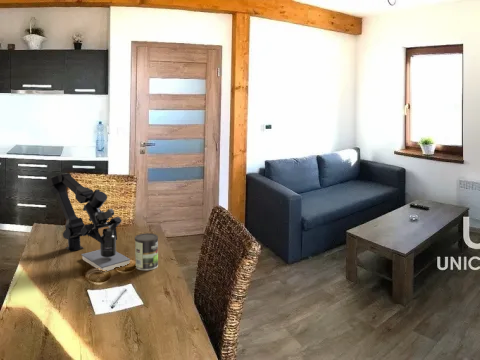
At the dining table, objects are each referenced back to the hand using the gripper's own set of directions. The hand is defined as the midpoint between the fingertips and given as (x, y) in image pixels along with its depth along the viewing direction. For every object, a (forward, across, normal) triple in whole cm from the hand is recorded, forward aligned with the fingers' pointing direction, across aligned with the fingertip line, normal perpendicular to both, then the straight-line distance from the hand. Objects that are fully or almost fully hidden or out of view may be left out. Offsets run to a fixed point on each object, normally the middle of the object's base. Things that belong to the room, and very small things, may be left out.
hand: (110, 241), depth 190 cm
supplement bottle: (+4, 0, +6) cm, 7 cm away
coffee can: (+18, +10, -2) cm, 20 cm away
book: (+5, 0, +11) cm, 12 cm away
